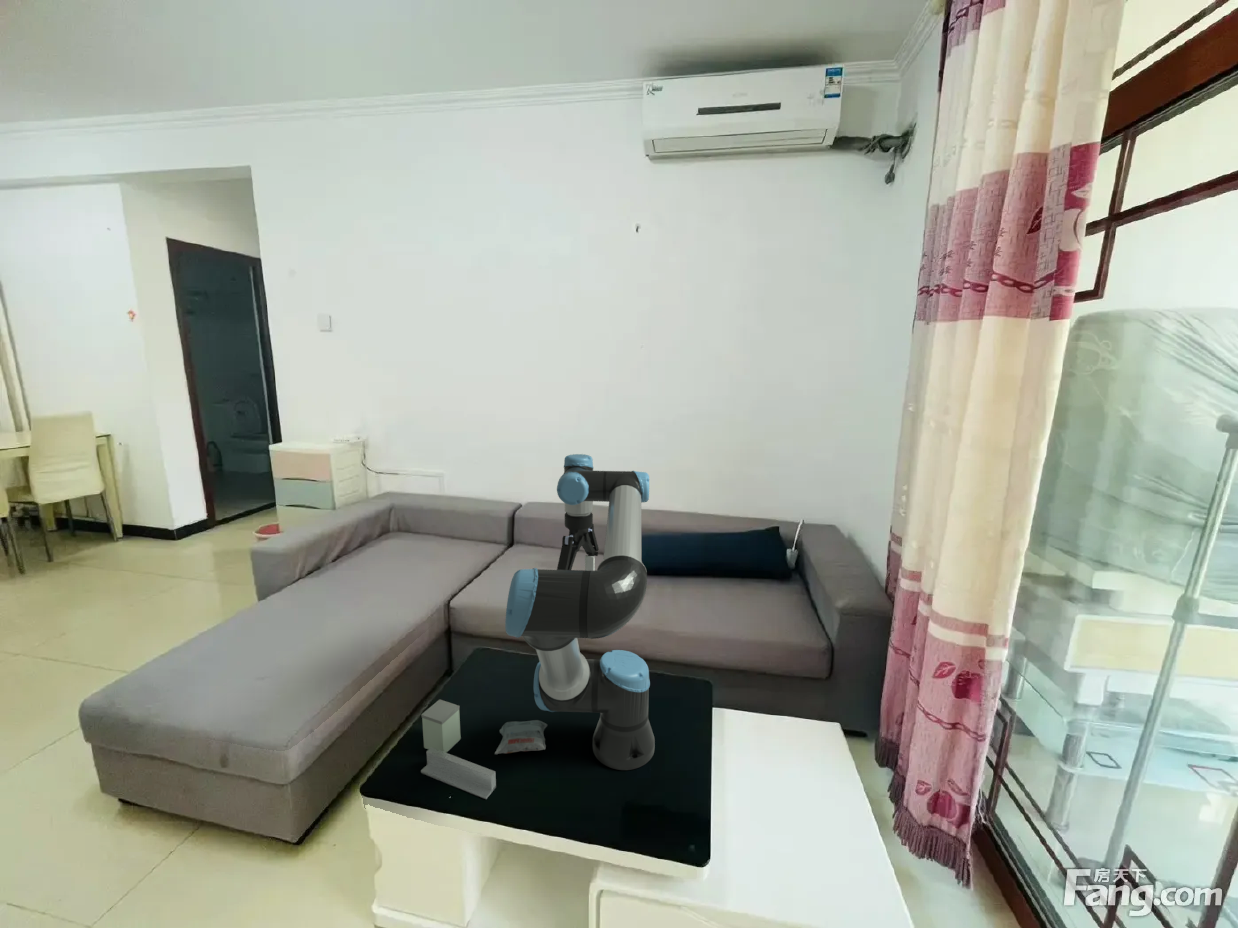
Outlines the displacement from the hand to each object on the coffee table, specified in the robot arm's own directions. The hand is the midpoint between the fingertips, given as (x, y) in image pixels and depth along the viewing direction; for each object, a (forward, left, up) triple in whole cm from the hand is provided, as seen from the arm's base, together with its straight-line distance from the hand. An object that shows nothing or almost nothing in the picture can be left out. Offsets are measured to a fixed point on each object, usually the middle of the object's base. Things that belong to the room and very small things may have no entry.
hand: (578, 587), depth 140 cm
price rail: (+10, +39, -32) cm, 51 cm away
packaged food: (+5, +28, -33) cm, 44 cm away
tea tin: (+21, +32, -32) cm, 50 cm away
